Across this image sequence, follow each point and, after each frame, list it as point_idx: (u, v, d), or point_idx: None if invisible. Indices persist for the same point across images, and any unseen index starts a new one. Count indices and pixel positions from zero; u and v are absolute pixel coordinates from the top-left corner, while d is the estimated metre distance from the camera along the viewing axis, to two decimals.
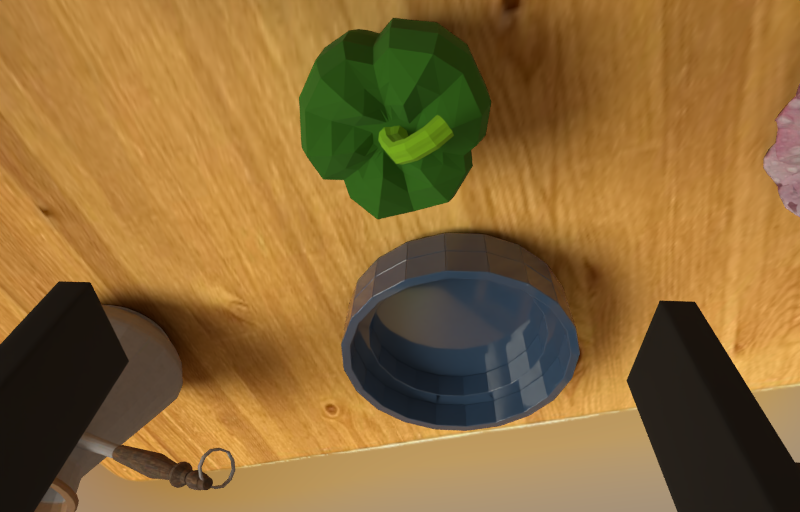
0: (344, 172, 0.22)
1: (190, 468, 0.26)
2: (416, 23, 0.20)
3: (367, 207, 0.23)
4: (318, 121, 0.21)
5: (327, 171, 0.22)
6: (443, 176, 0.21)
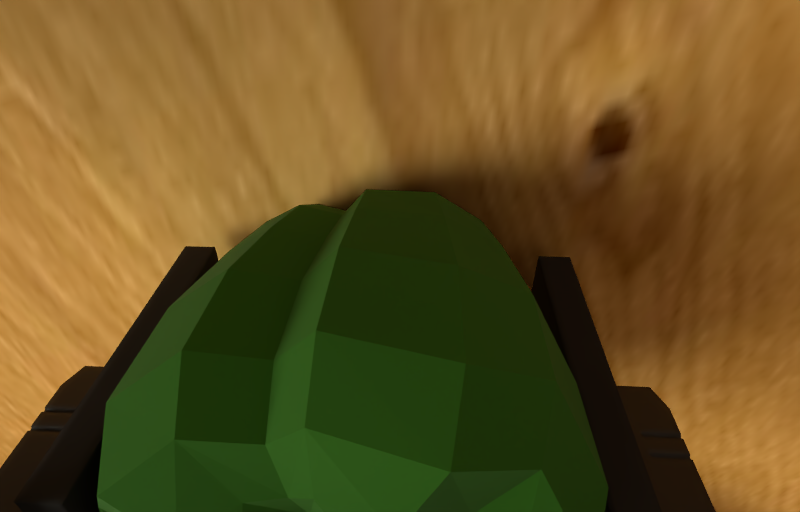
0: None
1: None
2: (400, 280, 0.07)
3: None
4: None
5: None
6: None
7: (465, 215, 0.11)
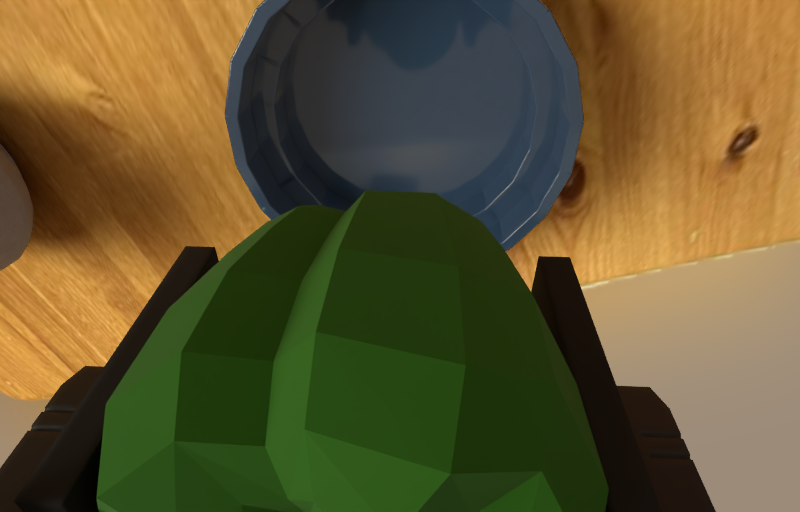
0: None
1: None
2: (400, 281, 0.07)
3: None
4: None
5: None
6: None
7: (465, 216, 0.11)
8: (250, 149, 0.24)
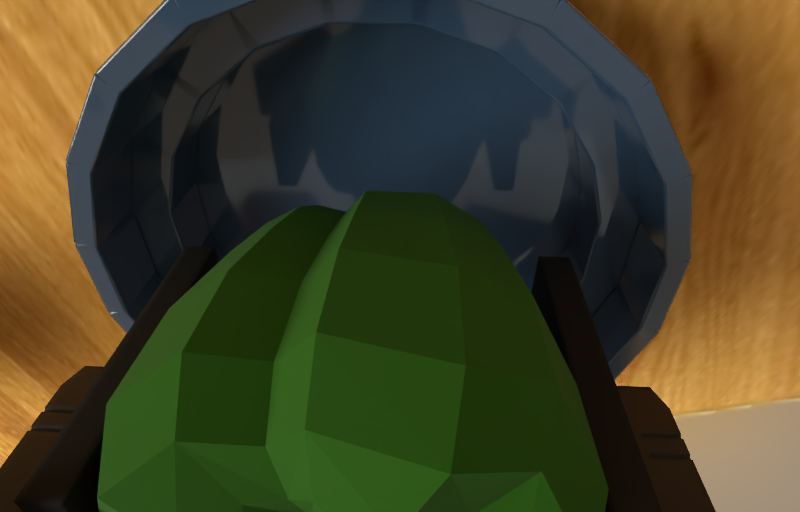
0: None
1: None
2: (400, 281, 0.07)
3: None
4: None
5: None
6: None
7: (465, 216, 0.11)
8: (133, 283, 0.15)
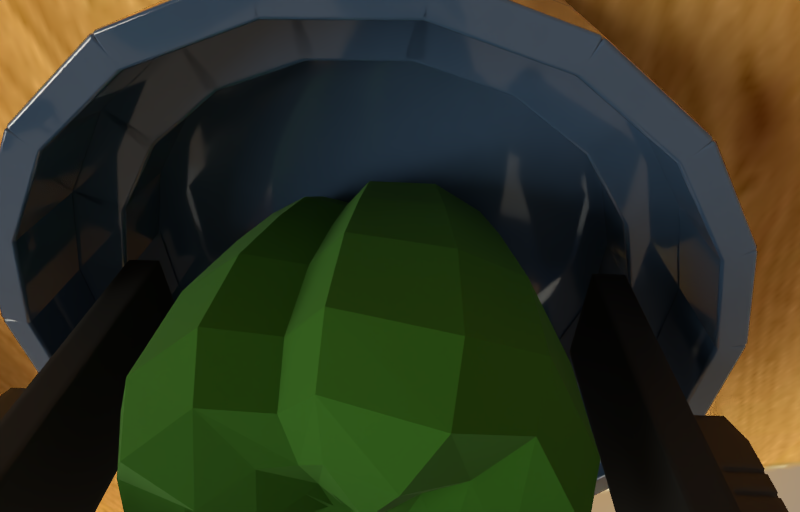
0: None
1: None
2: (403, 261, 0.08)
3: None
4: (153, 504, 0.08)
5: None
6: None
7: (464, 205, 0.11)
8: None
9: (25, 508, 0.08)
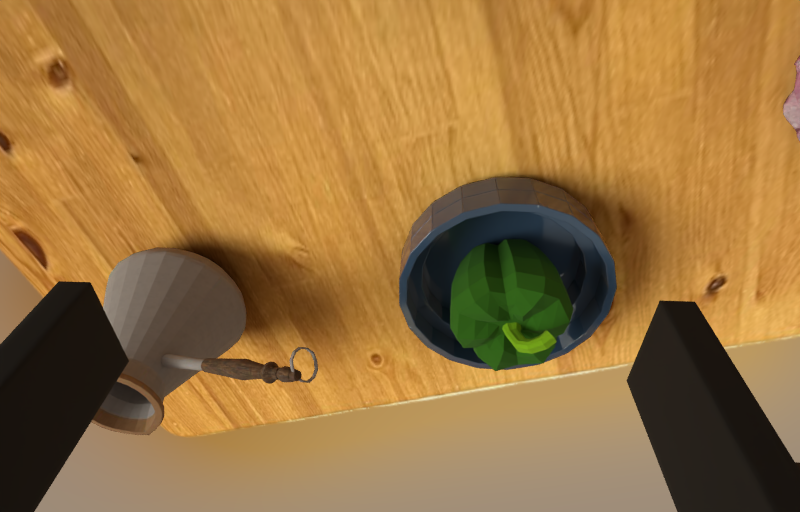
0: (478, 345, 0.35)
1: (278, 367, 0.29)
2: (528, 262, 0.33)
3: (489, 364, 0.36)
4: (467, 320, 0.34)
5: (467, 345, 0.35)
6: None
7: (535, 247, 0.37)
8: (407, 293, 0.38)
9: None
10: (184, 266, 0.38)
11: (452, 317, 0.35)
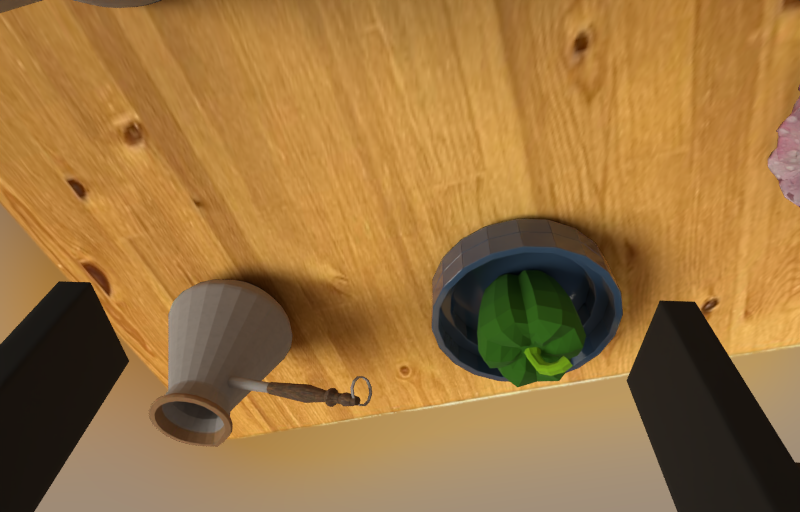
0: (502, 366, 0.40)
1: None
2: (547, 295, 0.38)
3: (512, 381, 0.41)
4: (494, 345, 0.39)
5: (494, 366, 0.40)
6: None
7: (551, 278, 0.42)
8: None
9: None
10: (241, 297, 0.43)
11: (480, 342, 0.40)
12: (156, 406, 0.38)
